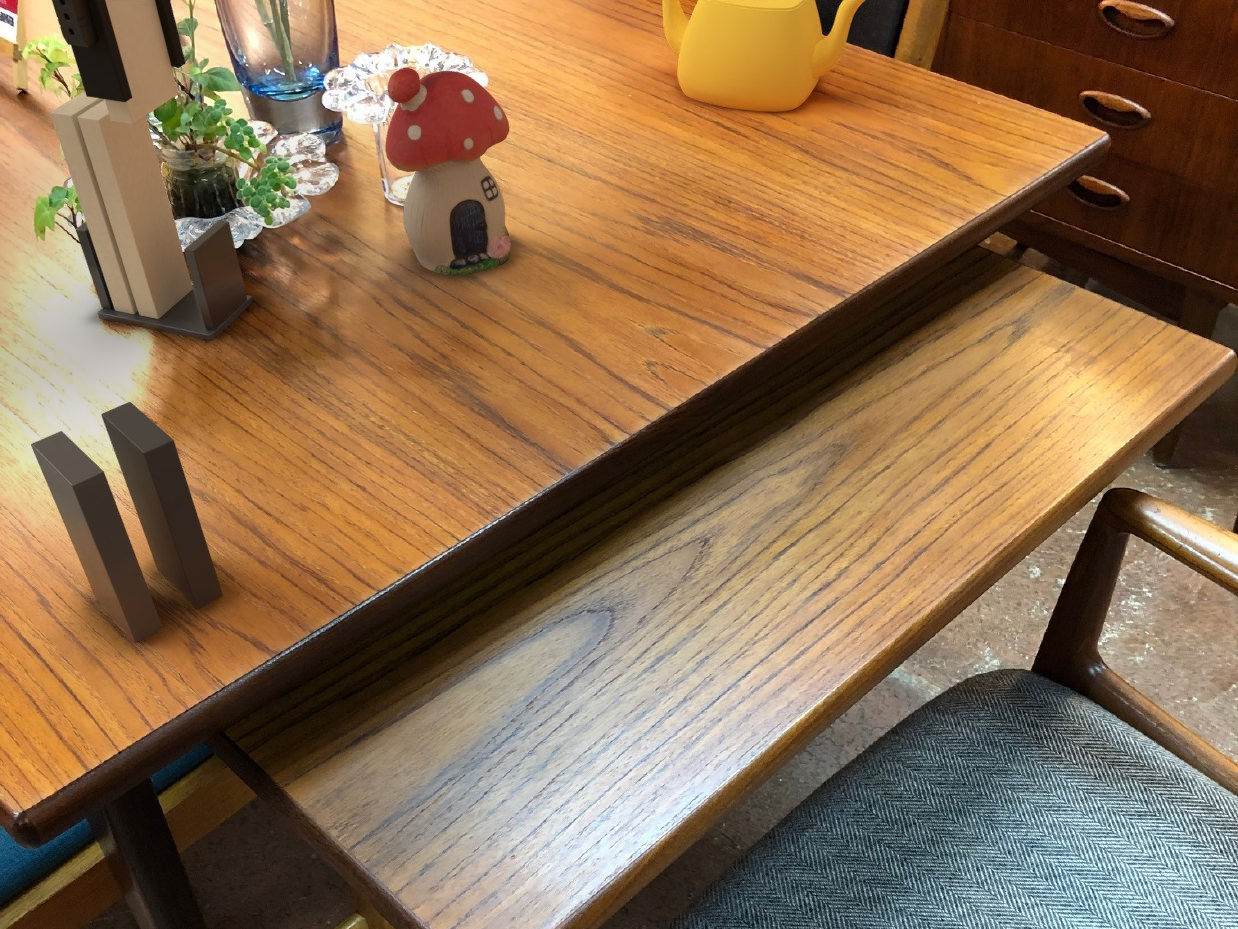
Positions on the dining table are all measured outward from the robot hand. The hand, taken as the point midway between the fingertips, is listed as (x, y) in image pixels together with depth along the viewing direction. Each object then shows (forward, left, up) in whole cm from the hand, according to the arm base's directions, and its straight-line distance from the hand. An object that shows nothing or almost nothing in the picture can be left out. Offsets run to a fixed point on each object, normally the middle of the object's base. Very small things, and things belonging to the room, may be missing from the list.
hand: (137, 78), depth 73 cm
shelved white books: (-4, 0, -16) cm, 16 cm away
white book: (0, 0, -2) cm, 2 cm away
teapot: (+27, +55, -17) cm, 64 cm away
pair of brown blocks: (+14, -26, -17) cm, 34 cm away
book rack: (-2, 0, -17) cm, 17 cm away
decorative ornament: (+14, +14, -17) cm, 26 cm away
